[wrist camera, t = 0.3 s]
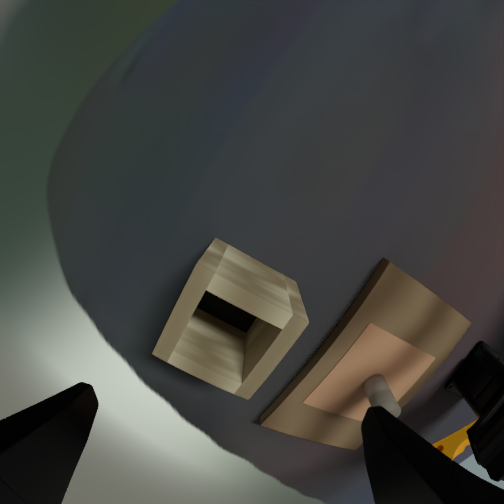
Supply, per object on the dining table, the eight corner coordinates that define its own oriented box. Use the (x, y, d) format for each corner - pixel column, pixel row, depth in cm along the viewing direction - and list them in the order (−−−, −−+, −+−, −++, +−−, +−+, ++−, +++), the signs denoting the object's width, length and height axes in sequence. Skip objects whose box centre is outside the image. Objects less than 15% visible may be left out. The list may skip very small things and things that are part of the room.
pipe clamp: (422, 459, 27) (435, 489, 21) (426, 446, 26) (442, 477, 20) (483, 426, 26) (499, 450, 20) (490, 410, 25) (508, 435, 19)
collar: (295, 281, 20) (309, 322, 14) (251, 347, 21) (248, 399, 16) (215, 237, 19) (196, 263, 13) (177, 309, 21) (151, 354, 15)
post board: (464, 317, 20) (497, 345, 15) (352, 442, 25) (363, 479, 19) (383, 257, 19) (419, 283, 14) (260, 416, 24) (259, 461, 18)
